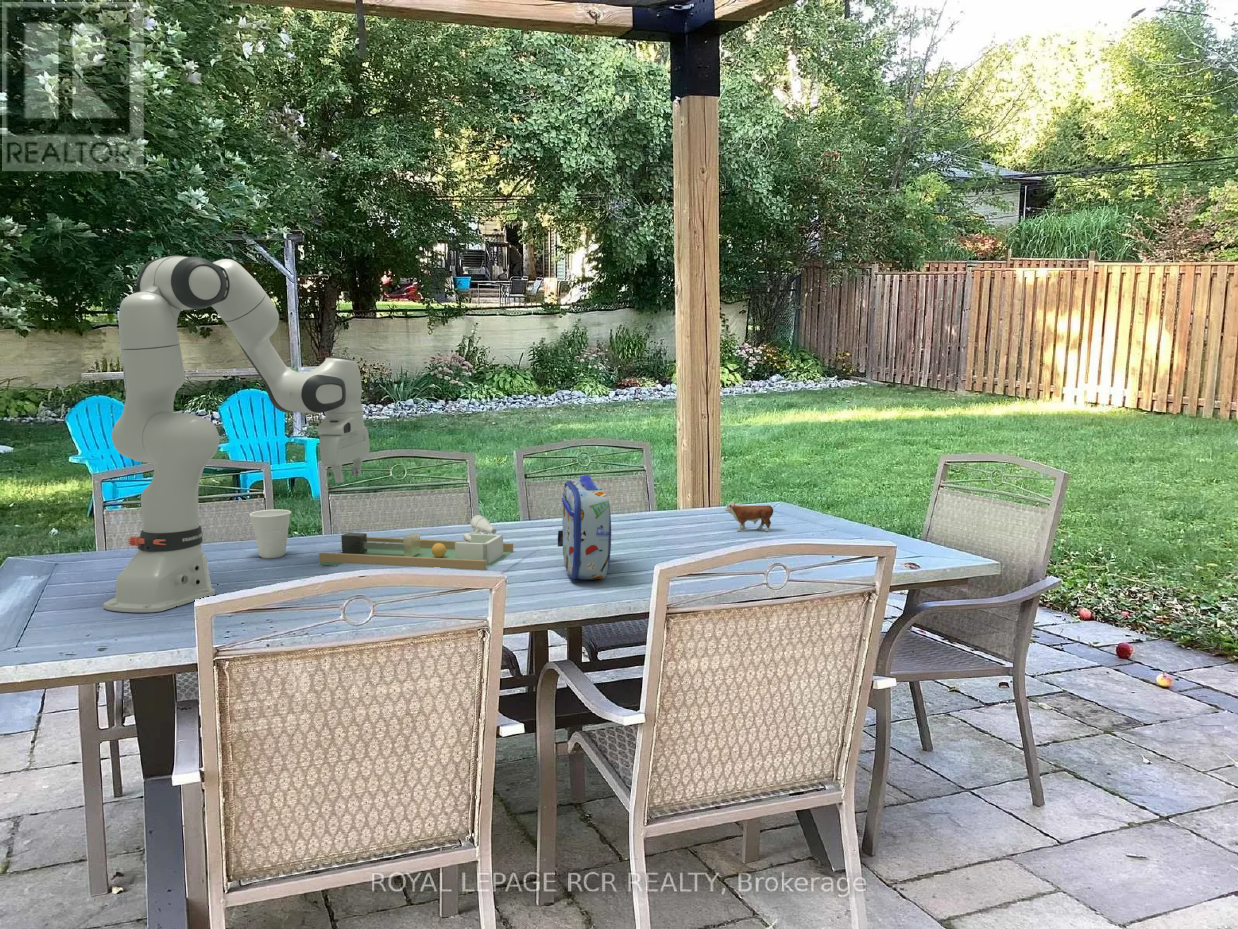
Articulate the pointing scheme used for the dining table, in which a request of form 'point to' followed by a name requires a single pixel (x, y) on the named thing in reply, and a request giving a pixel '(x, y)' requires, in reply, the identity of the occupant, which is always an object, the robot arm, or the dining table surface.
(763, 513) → the bull figurine
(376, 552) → the pitch
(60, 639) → the dining table surface
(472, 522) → the cream rounded piece
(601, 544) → the lunch box
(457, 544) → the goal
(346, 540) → the kicker rod
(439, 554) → the ball
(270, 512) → the cup
